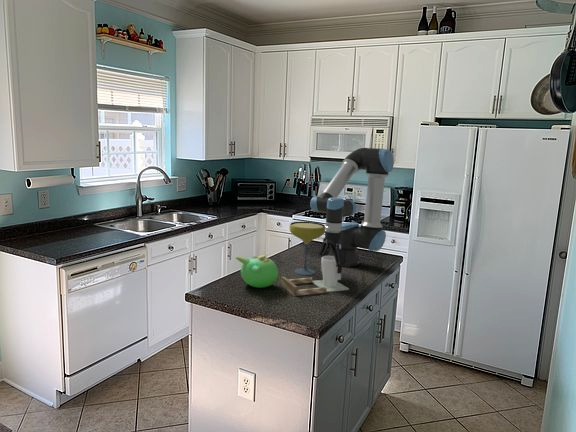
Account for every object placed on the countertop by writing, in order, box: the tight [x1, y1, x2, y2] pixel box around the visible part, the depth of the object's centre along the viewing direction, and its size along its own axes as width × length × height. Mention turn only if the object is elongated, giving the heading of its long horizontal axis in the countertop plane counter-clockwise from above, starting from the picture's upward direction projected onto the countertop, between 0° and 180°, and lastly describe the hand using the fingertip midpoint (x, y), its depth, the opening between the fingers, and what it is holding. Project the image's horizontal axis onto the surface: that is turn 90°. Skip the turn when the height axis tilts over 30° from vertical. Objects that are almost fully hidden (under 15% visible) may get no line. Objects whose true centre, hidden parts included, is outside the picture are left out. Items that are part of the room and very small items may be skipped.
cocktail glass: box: [289, 221, 326, 276], centre depth 227 cm, size 18×18×25 cm
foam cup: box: [320, 254, 339, 287], centre depth 208 cm, size 10×9×13 cm
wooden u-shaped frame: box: [280, 275, 328, 297], centre depth 204 cm, size 16×15×4 cm
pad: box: [312, 279, 350, 293], centre depth 210 cm, size 12×15×1 cm
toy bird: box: [235, 254, 279, 289], centre depth 202 cm, size 18×17×15 cm
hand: (330, 275), depth 209 cm, fingers open, 13 cm apart
